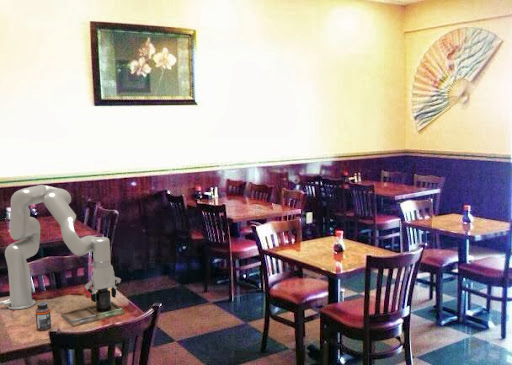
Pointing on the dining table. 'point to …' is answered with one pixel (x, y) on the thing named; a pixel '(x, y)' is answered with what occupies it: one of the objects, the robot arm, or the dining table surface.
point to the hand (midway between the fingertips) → (103, 299)
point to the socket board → (90, 315)
